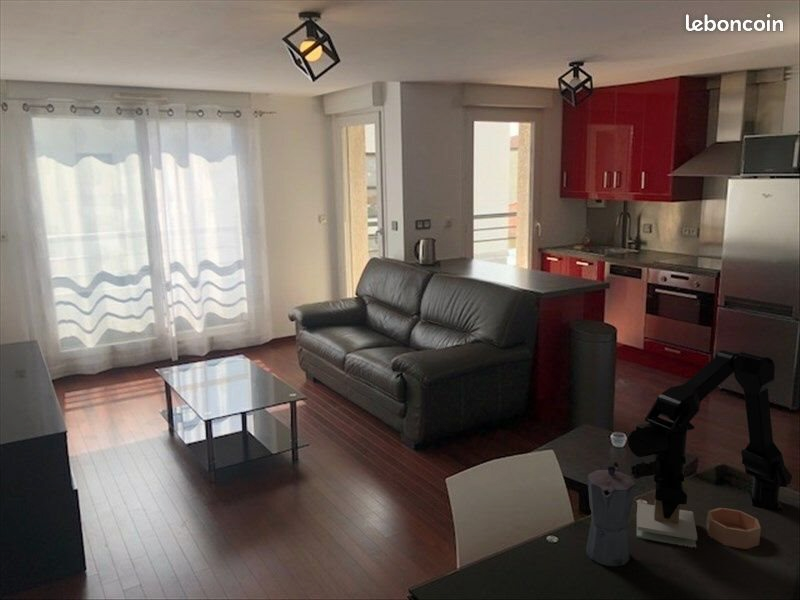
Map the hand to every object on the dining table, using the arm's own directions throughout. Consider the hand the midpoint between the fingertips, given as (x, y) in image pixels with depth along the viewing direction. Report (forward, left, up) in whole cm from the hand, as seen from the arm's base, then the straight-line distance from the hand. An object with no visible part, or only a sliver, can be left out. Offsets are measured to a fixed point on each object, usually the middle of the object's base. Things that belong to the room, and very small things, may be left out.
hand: (666, 514), depth 142 cm
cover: (0, 0, -2) cm, 2 cm away
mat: (0, 0, -4) cm, 4 cm away
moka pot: (+16, -12, -4) cm, 20 cm away
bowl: (-2, +14, -4) cm, 15 cm away
